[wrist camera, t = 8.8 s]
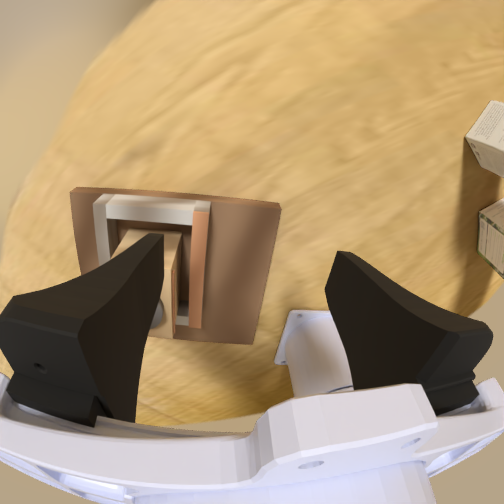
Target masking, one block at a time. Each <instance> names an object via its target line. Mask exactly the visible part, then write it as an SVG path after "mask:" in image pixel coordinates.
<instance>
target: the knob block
mask: <svg viewBox="0 0 504 504" xmlns="http://www.w3.org/2000/svg"><path fill="white" fill-rule="evenodd" d="M148 233H158V234H164V281H163V287H162V291H161V296H160V300H159V303H158V306H157V309H156V312H155V315H154V318H153V321H152V324H151V327H150V330H149V333H148V336H149V337H157V338H165V339H173V335H174V333H175V331H176V329H175V323H176V317H177V312H178V307H179V301H180V296H181V246H182V232H181V231H170V230H159V229H147V228H135V227H130V228H129V230H128V232H127V233H126V235H125V236H124V238H123V239H122V241H121V243H120V244H119V246H118V247H117V249H116V251H115V252H114V254H113V256H112V257H111V259H112V258H114V257H115V256H117V255H118V254H120V253H122V252H123V251H124V250H126V249H127V248H129V247H130V246H131V245H133V244H134V243H135V242H137V241H138V240H140V239H141V238H142V237H144V236H145V235H147V234H148ZM111 259H110V260H111Z"/></svg>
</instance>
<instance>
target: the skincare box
mask: <svg viewBox="0 0 504 504" xmlns="http://www.w3.org/2000/svg"><path fill="white" fill-rule="evenodd" d="M465 138H466V140H467V142H468V143H469V145H470V147H471V149H472V151H473V153H474V154H475V156H476V158H477V160H478V162H479V164H480V166H481V167H482V168H484V169H487V170H489V171H491V172H493V173H495V174H497V175H499V176H501V177H503V178H504V103H502V102H498V101H493V100H491V101H490V102H489V104H488V105H487V107H486V108H485V110H484V111H483V112H482V114H481V115H480V117H479V118H478V120H477V121H476V122H475V124H474V125H473V127H472V128H471V129H470V131H469V132H468V133H467V135H466V136H465Z"/></svg>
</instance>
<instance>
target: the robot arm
mask: <svg viewBox="0 0 504 504" xmlns="http://www.w3.org/2000/svg"><path fill="white" fill-rule="evenodd" d="M163 281H164V234H158V233H148V234H147V235H145V236H144V237H142V238H141V239H140V240H138V241H137V242H135V243H134V244H133V245H131V246H130V247H129V248H127V249H126V250H124V251H123V252H122V253H120V254H118V255H117V256H115V257H114V258H112V259H111V260H109V261H108V262H106V263H104V264H103V265H101V266H99V267H97V268H96V269H94V270H92V271H90V272H88V273H86V274H84V275H81V276H79V277H77V278H74V279H72V280H70V281H67V282H65V283H62V284H59V285H56V286H53V287H50V288H46V289H43V290H39V291H35V292H31V293H26V294H21V295H16V296H13V297H12V299H11V300H10V302H9V303H8V304H7V306H6V307H5V309H4V310H3V311H2V313H1V314H0V349H1V350H2V352H3V354H4V356H5V357H6V359H7V361H8V362H9V364H10V366H11V367H12V369H13V370H14V374H13V376H12V378H11V380H10V378H8V377H7V376H6V375H5V374H3V373H1V372H0V461H2V462H4V463H6V464H7V465H10V466H11V467H13V468H15V469H17V470H19V471H21V472H23V473H25V474H27V475H29V476H31V477H33V478H35V479H38V480H40V481H42V482H44V483H47V484H49V485H51V486H54V487H56V488H58V489H61V490H63V491H66V492H68V493H71V494H74V495H77V496H79V497H82V498H85V499H88V500H91V501H94V502H98V503H101V504H437V503H436V500H435V496H434V493H433V490H432V487H431V484H430V481H429V478H430V477H432V476H434V475H436V474H438V473H440V472H442V471H444V470H446V469H448V468H450V467H452V466H454V465H455V464H457V463H459V462H461V461H463V460H464V459H466V458H468V457H470V456H472V455H473V454H475V453H477V452H478V451H480V450H482V449H483V448H484V447H485V446H487V445H488V444H489V443H491V442H492V441H493V440H494V439H496V438H497V437H498V436H499V435H500V434H501V433H503V432H504V393H503V391H502V389H501V387H500V386H499V384H498V382H497V381H496V379H495V378H494V377H493V378H490V379H487V380H485V381H482V382H480V383H478V384H477V385H476V386H475V385H474V384H473V381H472V380H474V379H475V374H474V372H473V369H474V368H475V367H476V365H477V364H478V363H479V362H480V360H481V359H482V358H483V357H484V355H485V354H486V352H487V351H488V349H489V348H490V346H491V344H492V340H493V332H492V331H491V330H490V329H489V327H488V326H487V325H486V324H485V323H484V322H481V321H477V320H474V319H471V318H467V317H464V316H461V315H458V314H455V313H453V312H450V311H447V310H445V309H442V308H440V307H438V306H436V305H434V304H432V303H430V302H427V301H426V300H424V299H422V298H420V297H418V296H416V295H415V294H413V293H411V292H409V291H408V290H406V289H404V288H403V287H401V286H400V285H398V284H397V283H395V282H394V281H392V280H391V279H389V278H388V277H387V276H385V275H384V274H382V273H381V272H380V271H378V270H377V269H375V268H374V267H373V266H371V265H370V264H368V263H367V262H366V261H364V260H363V259H361V258H360V257H358V256H356V255H355V254H353V253H351V252H345V251H337V254H336V257H335V260H334V263H333V266H332V269H331V272H330V275H329V278H328V281H327V284H326V286H325V294H326V298H327V303H328V307H329V310H330V311H314V310H292V311H290V312H289V314H288V317H287V321H286V324H285V327H284V330H283V334H282V337H281V340H280V343H279V346H278V349H277V352H276V356H275V359H274V363H275V364H276V365H288V368H289V373H290V378H291V383H292V388H293V393H294V398H290V399H288V400H285V401H283V402H281V403H278V404H276V405H274V406H271V407H270V408H269V409H268V410H267V411H266V412H265V413H264V414H263V415H262V416H261V417H260V418H259V419H258V420H257V421H256V424H255V427H254V429H253V431H252V432H245V433H231V432H228V433H227V432H206V431H193V430H182V429H173V428H172V429H171V428H164V427H157V426H150V425H143V424H137V423H135V417H136V405H137V395H138V386H139V378H140V371H141V365H142V359H143V353H144V348H145V344H146V340H147V336H148V333H149V330H150V327H151V324H152V321H153V318H154V315H155V312H156V309H157V306H158V303H159V300H160V296H161V291H162V287H163ZM299 314H301V315H299ZM298 315H299V316H298Z"/></svg>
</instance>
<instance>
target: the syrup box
mask: <svg viewBox="0 0 504 504" xmlns="http://www.w3.org/2000/svg"><path fill="white" fill-rule="evenodd" d="M477 253H478V254H479V255H480V256H481V257H482V258H483V259H484V260H485V261H486V262H487V263H488V264H489V265H490V266H491V267H492V268H493V269H494V270H495V271H496V272H497V273H498V274H499V275H500V276H501V277H502V278H503V279H504V198H503V199H501V200H499V201H498V202H496V203H494V204H492V205H490V206H488V207H486V208H485V209H483V210H481V211H479V229H478V247H477Z"/></svg>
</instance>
